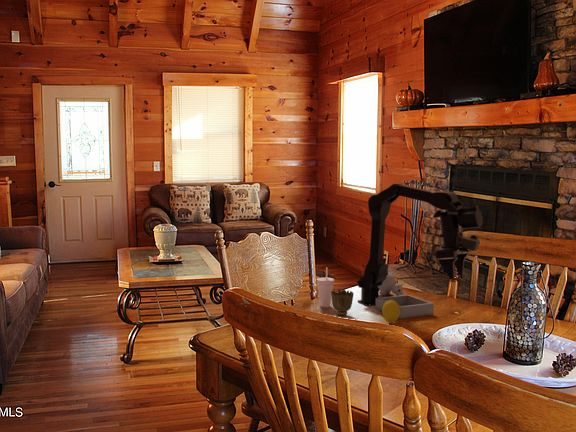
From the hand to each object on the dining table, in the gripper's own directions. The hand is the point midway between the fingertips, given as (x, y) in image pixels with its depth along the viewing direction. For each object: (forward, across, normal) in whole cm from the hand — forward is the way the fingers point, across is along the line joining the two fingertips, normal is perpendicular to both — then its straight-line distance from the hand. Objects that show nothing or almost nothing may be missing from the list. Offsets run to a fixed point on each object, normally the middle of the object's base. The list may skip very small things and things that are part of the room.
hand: (456, 277), depth 202 cm
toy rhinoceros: (+8, +19, +33) cm, 39 cm away
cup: (+9, -17, +35) cm, 40 cm away
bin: (+11, -1, +20) cm, 22 cm away
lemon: (+12, -17, +18) cm, 27 cm away
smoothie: (+7, -10, +45) cm, 47 cm away
